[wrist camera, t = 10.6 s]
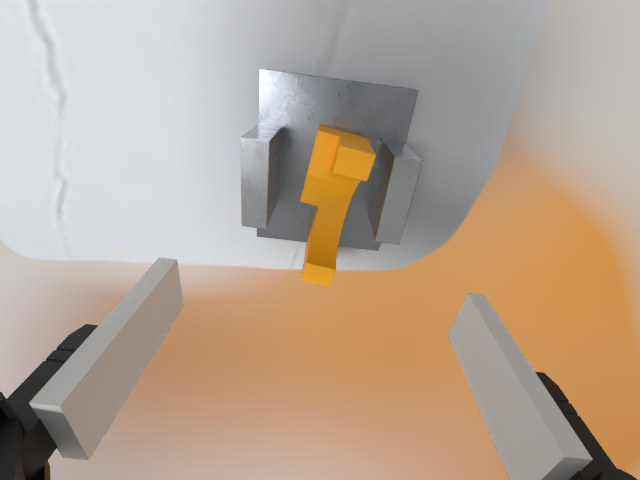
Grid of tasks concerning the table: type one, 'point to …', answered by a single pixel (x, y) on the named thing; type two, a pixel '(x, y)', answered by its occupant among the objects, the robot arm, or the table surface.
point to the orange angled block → (331, 196)
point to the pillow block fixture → (297, 146)
